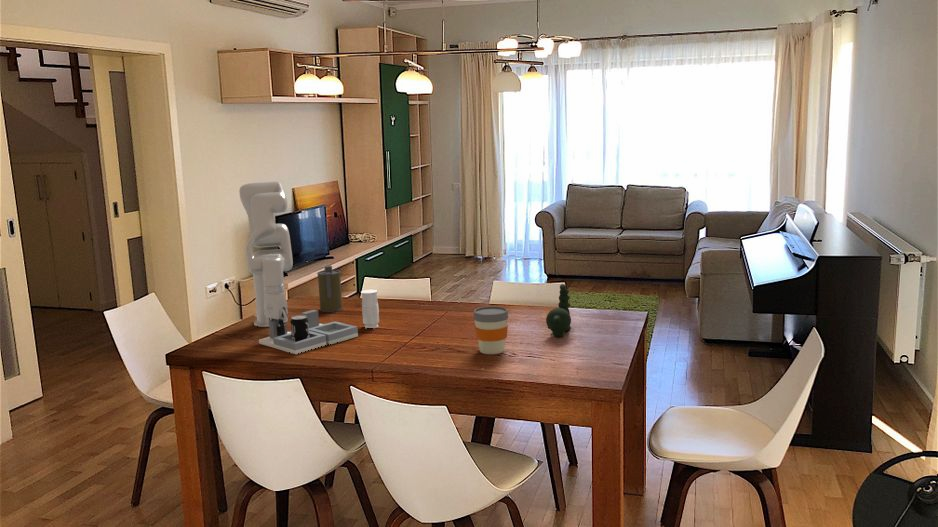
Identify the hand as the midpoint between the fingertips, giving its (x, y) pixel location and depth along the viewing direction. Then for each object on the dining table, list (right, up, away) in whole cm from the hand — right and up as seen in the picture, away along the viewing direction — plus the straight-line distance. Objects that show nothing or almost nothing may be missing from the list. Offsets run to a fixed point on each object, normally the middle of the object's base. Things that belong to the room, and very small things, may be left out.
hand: (278, 334), depth 301 cm
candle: (+34, +1, +16) cm, 38 cm away
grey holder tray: (+7, -4, -5) cm, 9 cm away
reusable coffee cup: (+83, -4, -22) cm, 86 cm away
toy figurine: (+110, +1, -3) cm, 110 cm away
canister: (+12, +7, +48) cm, 50 cm away
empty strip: (+17, -1, +5) cm, 18 cm away
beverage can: (+11, -4, -9) cm, 15 cm away
